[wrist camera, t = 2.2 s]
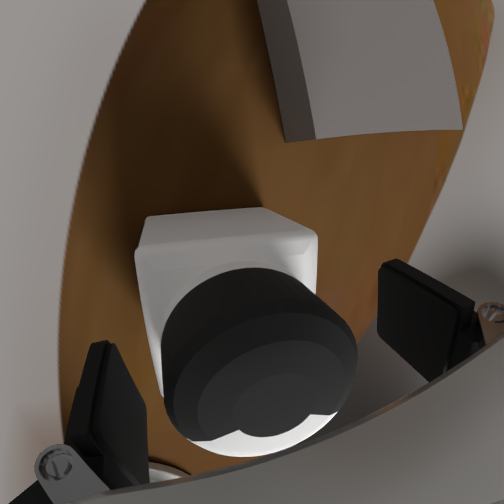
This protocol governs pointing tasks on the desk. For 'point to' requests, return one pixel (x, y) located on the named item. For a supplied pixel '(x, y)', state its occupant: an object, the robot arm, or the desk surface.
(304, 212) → the desk surface
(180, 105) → the desk surface
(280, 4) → the base block
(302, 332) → the medicine bottle
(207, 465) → the desk surface
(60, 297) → the desk surface
